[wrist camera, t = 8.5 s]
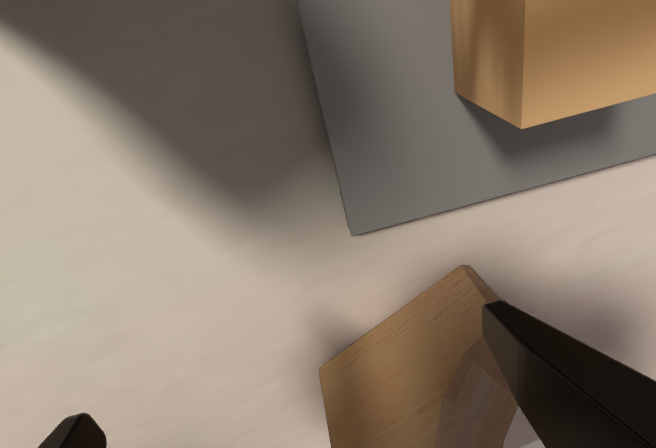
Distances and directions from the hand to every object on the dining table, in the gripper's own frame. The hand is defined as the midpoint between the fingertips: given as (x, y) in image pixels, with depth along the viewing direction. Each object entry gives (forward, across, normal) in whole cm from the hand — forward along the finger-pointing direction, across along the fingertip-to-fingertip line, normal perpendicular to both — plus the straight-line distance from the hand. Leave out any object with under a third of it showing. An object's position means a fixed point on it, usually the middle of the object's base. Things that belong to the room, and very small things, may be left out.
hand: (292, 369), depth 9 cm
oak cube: (+10, -11, -5) cm, 15 cm away
